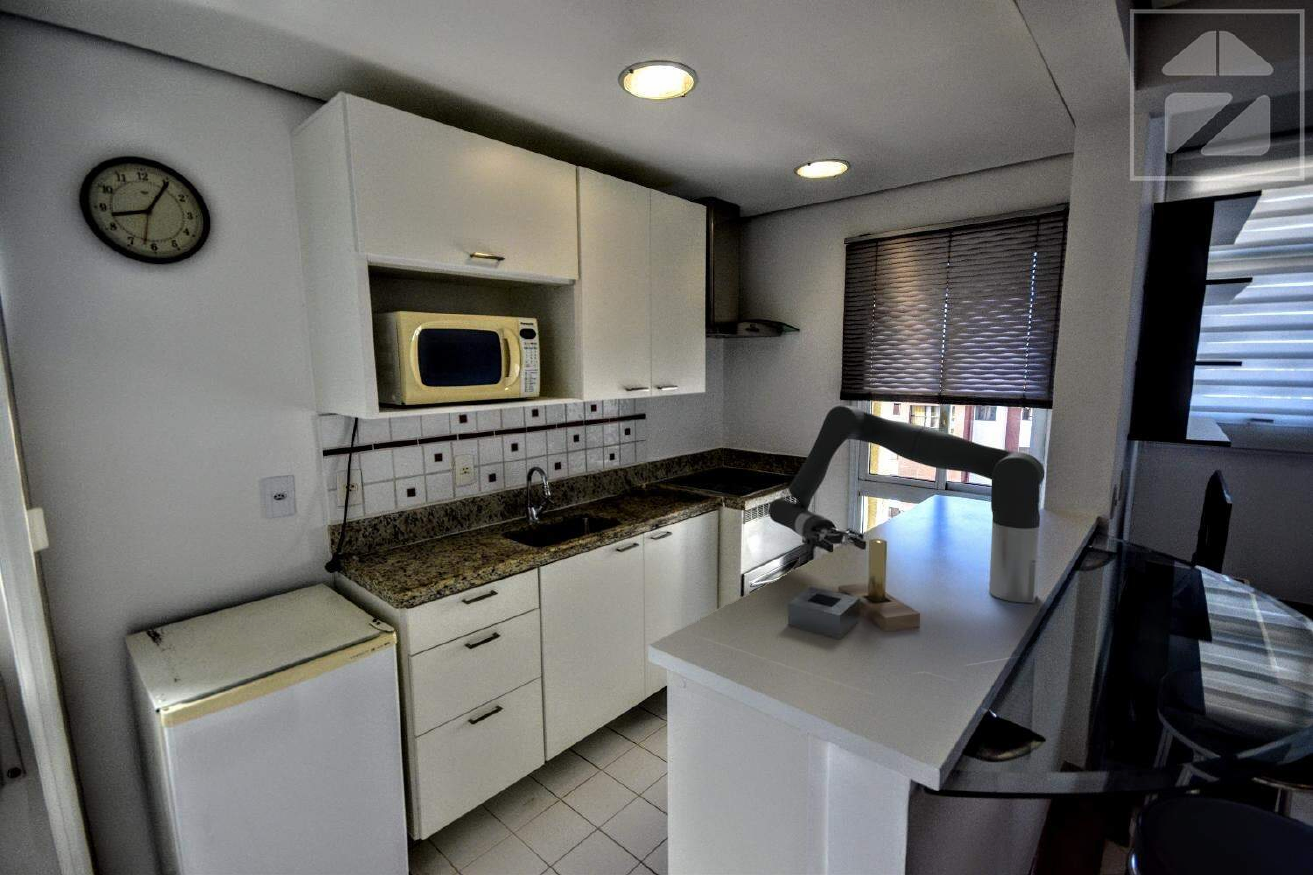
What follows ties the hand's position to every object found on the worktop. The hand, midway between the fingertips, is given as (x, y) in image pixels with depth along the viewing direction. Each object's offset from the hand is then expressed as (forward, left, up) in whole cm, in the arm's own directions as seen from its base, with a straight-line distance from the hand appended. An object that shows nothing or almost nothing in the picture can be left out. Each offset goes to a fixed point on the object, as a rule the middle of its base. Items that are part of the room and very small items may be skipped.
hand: (848, 547), depth 136 cm
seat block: (-2, +19, -11) cm, 22 cm away
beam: (-9, +7, -11) cm, 16 cm away
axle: (-9, +7, -11) cm, 16 cm away
